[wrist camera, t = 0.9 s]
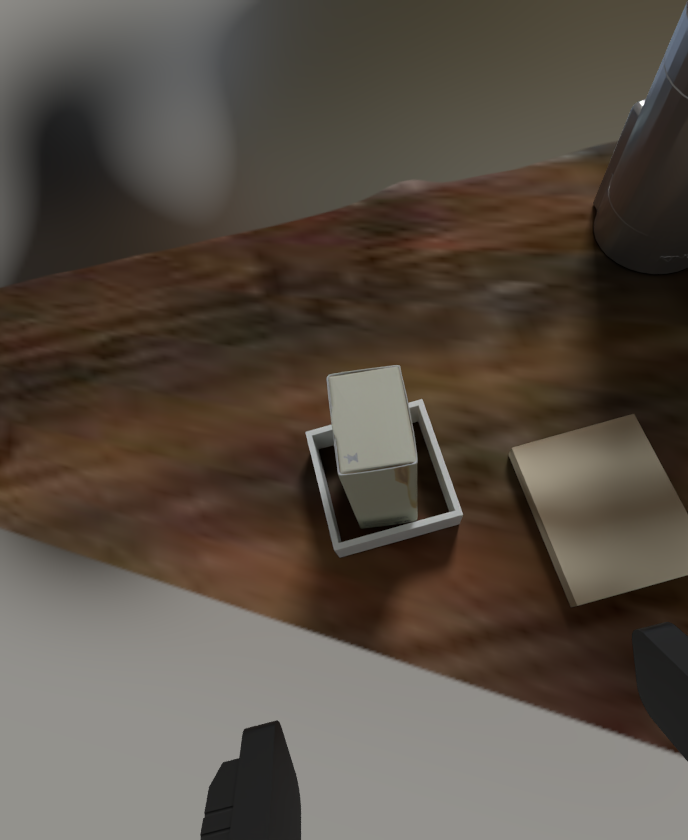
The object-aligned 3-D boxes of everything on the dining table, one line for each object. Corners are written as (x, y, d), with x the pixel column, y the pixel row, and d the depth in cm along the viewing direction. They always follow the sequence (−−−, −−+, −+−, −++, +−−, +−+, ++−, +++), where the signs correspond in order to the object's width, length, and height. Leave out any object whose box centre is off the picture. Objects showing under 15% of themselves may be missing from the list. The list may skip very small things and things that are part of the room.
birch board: (508, 454, 39) (511, 447, 38) (626, 421, 39) (634, 413, 38) (570, 607, 35) (577, 605, 33) (704, 570, 35) (716, 567, 33)
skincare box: (419, 522, 38) (421, 469, 27) (359, 530, 38) (337, 482, 27) (404, 439, 41) (401, 360, 29) (348, 447, 41) (324, 372, 30)
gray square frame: (312, 446, 41) (305, 431, 39) (421, 415, 41) (422, 399, 38) (339, 557, 38) (334, 550, 35) (459, 524, 38) (463, 514, 35)
